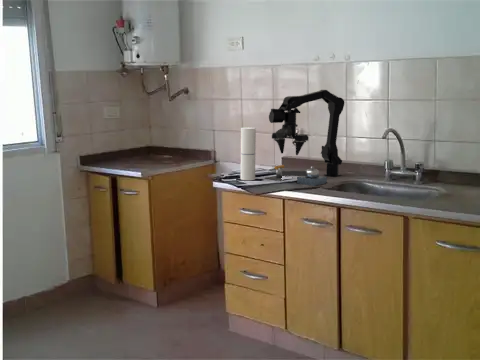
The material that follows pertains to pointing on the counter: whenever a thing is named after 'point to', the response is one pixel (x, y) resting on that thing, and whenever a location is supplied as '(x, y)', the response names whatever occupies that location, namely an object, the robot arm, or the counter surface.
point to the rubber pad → (273, 178)
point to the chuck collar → (301, 172)
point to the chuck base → (312, 180)
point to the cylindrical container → (248, 153)
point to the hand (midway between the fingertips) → (289, 154)
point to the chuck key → (278, 170)
